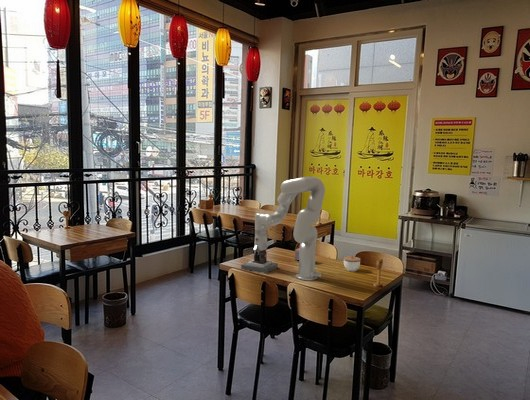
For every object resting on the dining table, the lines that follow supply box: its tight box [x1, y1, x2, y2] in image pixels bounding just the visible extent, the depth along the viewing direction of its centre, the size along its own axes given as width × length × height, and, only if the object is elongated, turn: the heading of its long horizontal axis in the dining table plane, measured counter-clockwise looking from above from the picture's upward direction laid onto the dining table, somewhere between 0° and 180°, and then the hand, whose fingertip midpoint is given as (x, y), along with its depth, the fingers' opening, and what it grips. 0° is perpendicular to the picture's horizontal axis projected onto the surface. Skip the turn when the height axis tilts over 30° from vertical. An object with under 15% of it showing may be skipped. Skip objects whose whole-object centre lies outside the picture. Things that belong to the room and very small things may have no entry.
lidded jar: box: [343, 255, 362, 272], centre depth 259 cm, size 11×11×9 cm
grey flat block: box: [240, 259, 279, 274], centre depth 258 cm, size 18×16×4 cm
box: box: [253, 251, 268, 264], centre depth 257 cm, size 6×6×7 cm
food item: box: [294, 247, 300, 261], centre depth 278 cm, size 14×8×10 cm, turn 45°
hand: (260, 259), depth 257 cm, fingers closed on box, 8 cm apart
